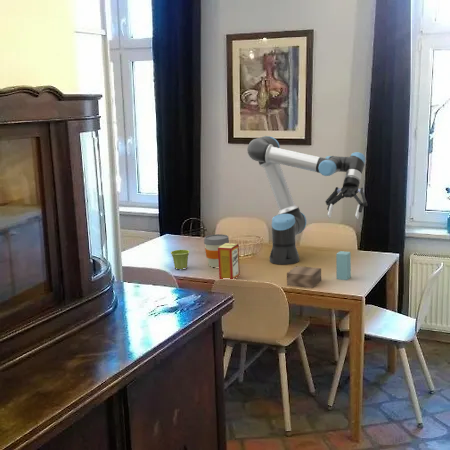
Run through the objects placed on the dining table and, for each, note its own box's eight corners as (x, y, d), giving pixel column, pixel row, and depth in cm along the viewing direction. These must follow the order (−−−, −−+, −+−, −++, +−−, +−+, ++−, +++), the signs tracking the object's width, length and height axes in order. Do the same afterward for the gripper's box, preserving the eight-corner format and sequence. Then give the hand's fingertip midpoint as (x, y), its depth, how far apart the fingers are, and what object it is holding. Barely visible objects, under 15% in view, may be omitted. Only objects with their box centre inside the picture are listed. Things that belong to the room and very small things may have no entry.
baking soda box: (232, 280, 297) (230, 247, 293) (219, 279, 299) (217, 246, 296) (239, 275, 305) (238, 242, 302) (227, 274, 308) (225, 242, 304)
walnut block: (287, 285, 286) (286, 273, 285) (296, 278, 297) (296, 266, 295) (312, 288, 281) (312, 275, 279) (321, 280, 291) (321, 268, 290)
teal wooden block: (336, 279, 292) (336, 253, 289) (340, 276, 296) (340, 251, 294) (347, 280, 289) (346, 254, 287) (350, 277, 294) (350, 252, 291)
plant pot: (193, 266, 324) (192, 249, 323) (186, 271, 316) (185, 254, 314) (176, 265, 328) (175, 249, 326) (168, 270, 319) (167, 253, 317)
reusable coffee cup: (201, 268, 320) (200, 239, 317) (210, 261, 331) (209, 233, 328) (225, 269, 316) (223, 240, 313) (233, 263, 327) (232, 234, 324)
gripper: (379, 185, 306) (370, 222, 296) (329, 185, 318) (319, 220, 308) (375, 176, 300) (366, 213, 290) (325, 175, 312) (315, 211, 303)
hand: (342, 217), depth 299 cm, fingers open, 13 cm apart
